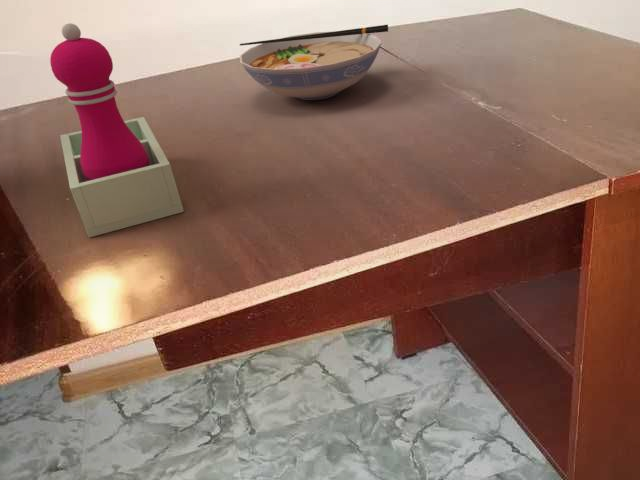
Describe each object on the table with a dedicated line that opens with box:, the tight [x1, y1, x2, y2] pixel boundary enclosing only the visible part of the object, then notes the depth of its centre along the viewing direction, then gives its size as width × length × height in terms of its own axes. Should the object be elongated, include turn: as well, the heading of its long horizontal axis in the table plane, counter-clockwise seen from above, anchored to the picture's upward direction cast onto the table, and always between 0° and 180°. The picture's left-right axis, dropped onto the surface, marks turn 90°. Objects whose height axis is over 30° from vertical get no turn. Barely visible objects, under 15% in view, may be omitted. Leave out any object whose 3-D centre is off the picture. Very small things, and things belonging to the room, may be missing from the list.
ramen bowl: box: [239, 24, 389, 101], centre depth 113 cm, size 25×23×8 cm
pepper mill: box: [49, 23, 149, 181], centre depth 77 cm, size 7×7×20 cm
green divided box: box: [59, 116, 185, 239], centre depth 85 cm, size 10×20×6 cm, turn 27°
